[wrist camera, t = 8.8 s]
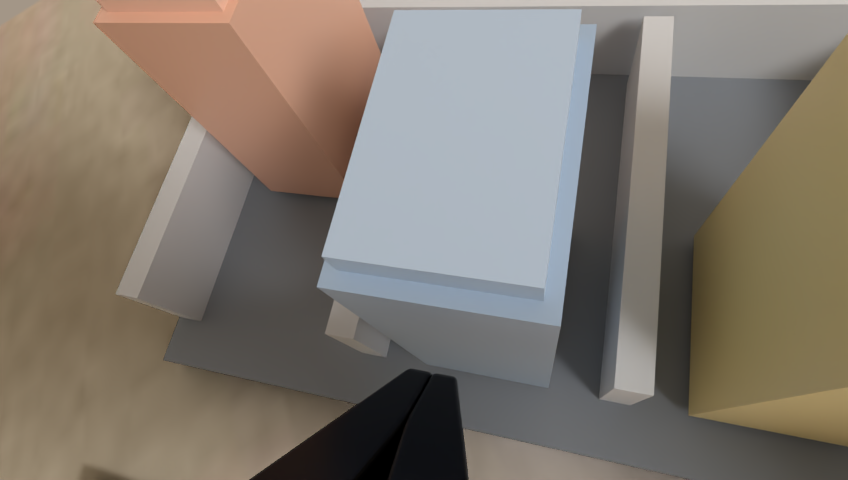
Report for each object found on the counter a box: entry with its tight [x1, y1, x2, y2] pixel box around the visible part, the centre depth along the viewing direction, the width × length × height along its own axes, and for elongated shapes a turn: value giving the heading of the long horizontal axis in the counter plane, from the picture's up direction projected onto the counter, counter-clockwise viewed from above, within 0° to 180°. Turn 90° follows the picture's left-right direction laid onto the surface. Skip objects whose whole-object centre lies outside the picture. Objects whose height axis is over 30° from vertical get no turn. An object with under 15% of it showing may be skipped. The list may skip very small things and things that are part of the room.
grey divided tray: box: [116, 0, 848, 480], centre depth 15 cm, size 22×14×4 cm, turn 78°
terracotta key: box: [93, 0, 381, 198], centre depth 15 cm, size 4×5×9 cm
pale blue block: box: [317, 9, 597, 388], centre depth 11 cm, size 4×5×9 cm
